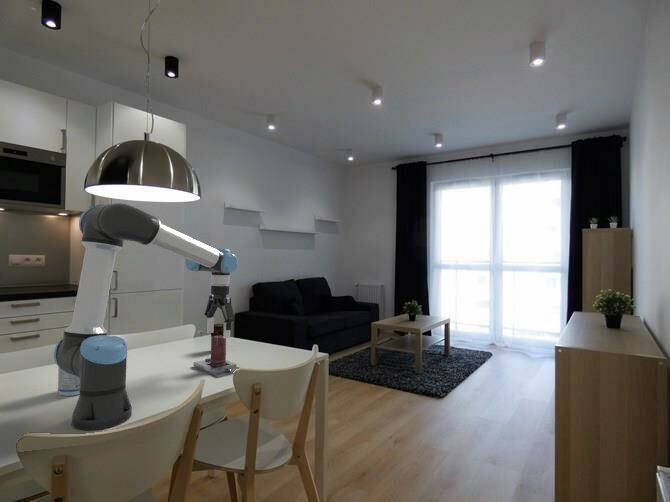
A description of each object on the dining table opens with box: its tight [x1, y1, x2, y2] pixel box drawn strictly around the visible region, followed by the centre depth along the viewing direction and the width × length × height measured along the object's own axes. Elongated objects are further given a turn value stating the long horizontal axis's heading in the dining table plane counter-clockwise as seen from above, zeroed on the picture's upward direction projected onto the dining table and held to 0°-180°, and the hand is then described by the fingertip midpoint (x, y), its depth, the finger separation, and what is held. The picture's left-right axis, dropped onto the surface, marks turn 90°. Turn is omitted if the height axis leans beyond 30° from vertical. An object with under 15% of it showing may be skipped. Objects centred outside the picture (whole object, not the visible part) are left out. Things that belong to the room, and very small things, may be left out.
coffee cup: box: [210, 323, 224, 339], centre depth 197 cm, size 9×8×13 cm
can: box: [210, 335, 227, 368], centre depth 166 cm, size 6×6×14 cm
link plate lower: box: [199, 365, 241, 379], centre depth 164 cm, size 12×14×2 cm
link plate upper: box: [193, 357, 237, 372], centre depth 168 cm, size 12×14×3 cm
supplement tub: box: [57, 366, 80, 397], centre depth 136 cm, size 10×10×15 cm
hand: (218, 335), depth 166 cm, fingers open, 13 cm apart
